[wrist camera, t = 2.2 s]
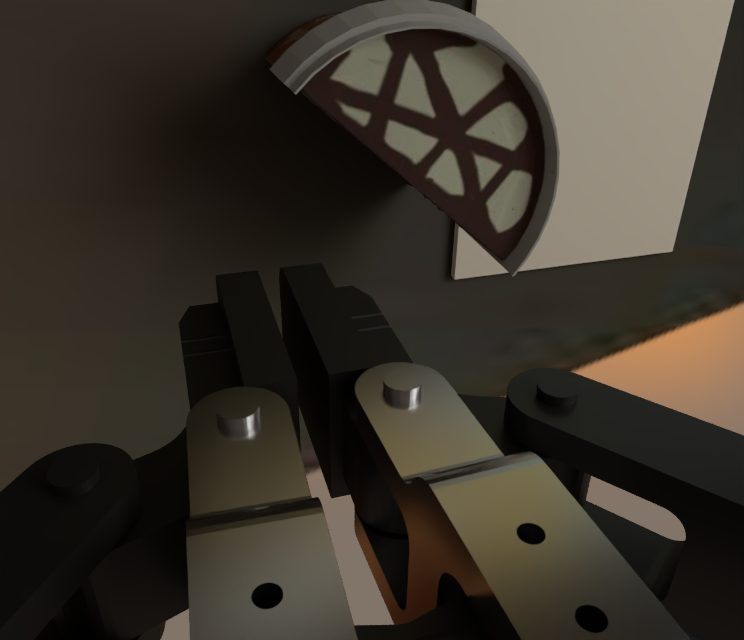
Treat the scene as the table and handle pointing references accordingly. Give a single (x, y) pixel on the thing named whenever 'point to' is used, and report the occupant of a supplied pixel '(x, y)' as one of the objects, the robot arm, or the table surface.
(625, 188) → the mat
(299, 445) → the robot arm
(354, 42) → the food container
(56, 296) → the table surface
